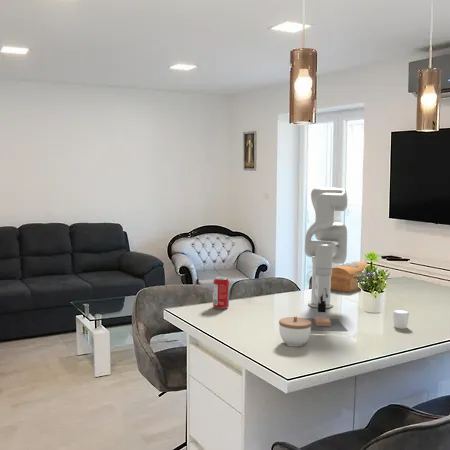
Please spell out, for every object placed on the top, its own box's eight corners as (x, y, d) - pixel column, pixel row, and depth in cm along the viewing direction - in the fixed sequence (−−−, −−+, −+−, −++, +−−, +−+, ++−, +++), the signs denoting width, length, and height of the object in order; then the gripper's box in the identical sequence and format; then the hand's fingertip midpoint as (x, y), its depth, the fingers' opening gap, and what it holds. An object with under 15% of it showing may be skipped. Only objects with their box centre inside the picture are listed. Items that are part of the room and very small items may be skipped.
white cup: (410, 326, 249) (410, 310, 249) (406, 329, 243) (407, 314, 243) (394, 323, 253) (395, 308, 252) (390, 327, 247) (391, 311, 246)
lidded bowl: (316, 344, 220) (317, 316, 219) (298, 351, 211) (299, 322, 210) (290, 337, 228) (291, 310, 227) (272, 343, 219) (272, 316, 218)
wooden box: (346, 281, 351) (347, 259, 350) (371, 285, 341) (372, 262, 340) (323, 288, 328) (324, 265, 326) (349, 292, 318) (350, 268, 316)
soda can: (210, 308, 273) (211, 278, 271) (215, 305, 280) (216, 275, 279) (225, 310, 270) (226, 279, 269) (230, 306, 277) (231, 277, 276)
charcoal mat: (298, 319, 256) (299, 318, 256) (337, 320, 257) (338, 318, 257) (305, 331, 237) (305, 330, 237) (347, 332, 237) (347, 331, 237)
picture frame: (314, 316, 251) (317, 321, 243) (327, 316, 251) (330, 321, 243) (313, 321, 251) (316, 326, 244) (327, 321, 252) (330, 326, 244)
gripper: (312, 268, 255) (310, 307, 257) (317, 274, 240) (316, 316, 242) (328, 268, 255) (326, 308, 257) (335, 274, 240) (333, 316, 242)
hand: (321, 311), depth 249 cm, fingers closed
